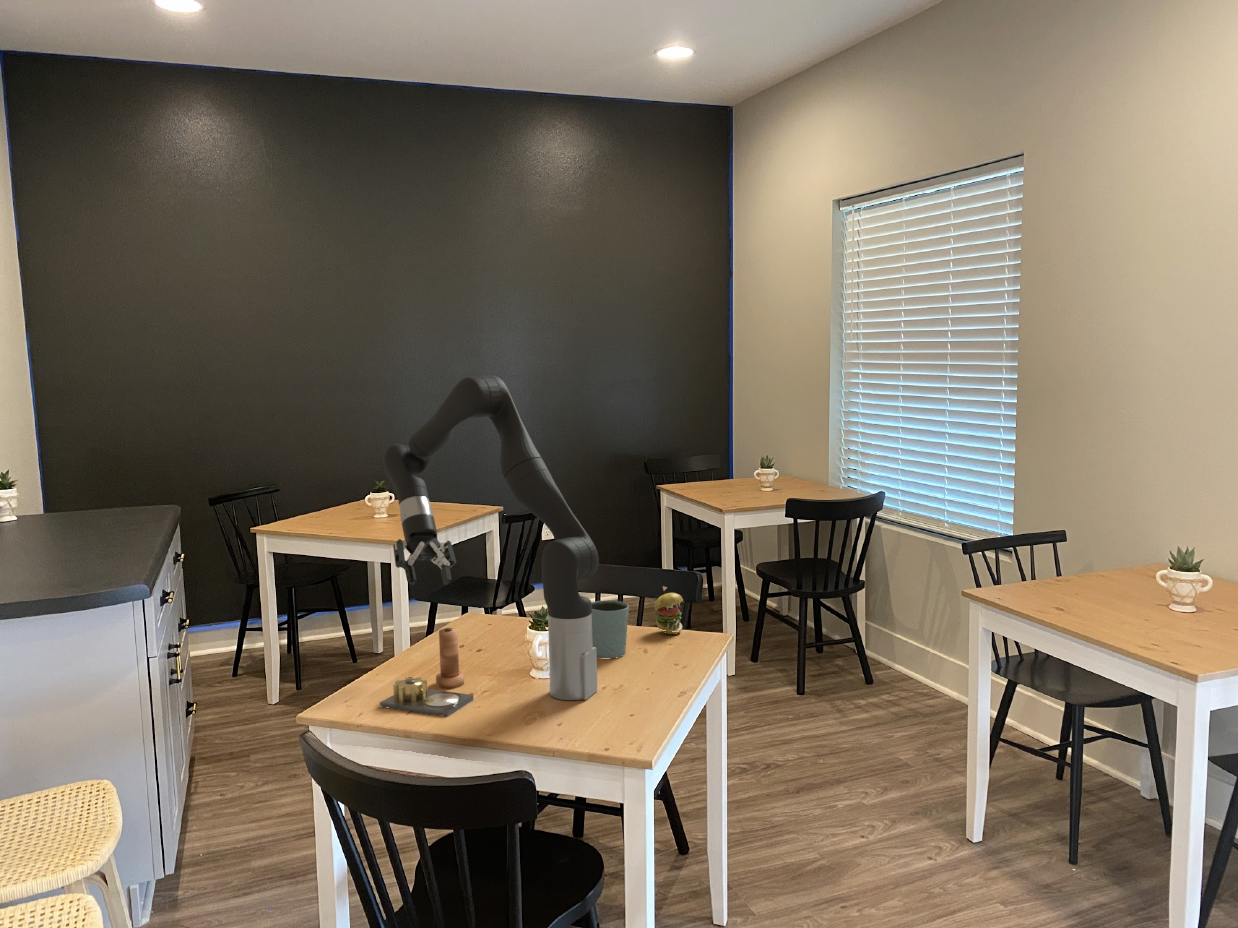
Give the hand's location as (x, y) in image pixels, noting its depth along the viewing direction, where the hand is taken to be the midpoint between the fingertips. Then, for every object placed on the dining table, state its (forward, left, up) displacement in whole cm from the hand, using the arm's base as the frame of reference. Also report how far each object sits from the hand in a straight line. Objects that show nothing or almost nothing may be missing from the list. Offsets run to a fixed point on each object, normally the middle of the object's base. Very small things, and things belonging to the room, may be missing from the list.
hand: (430, 583), depth 207 cm
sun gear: (-6, +18, -21) cm, 28 cm away
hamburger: (-41, -47, -21) cm, 66 cm away
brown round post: (-8, +6, -21) cm, 23 cm away
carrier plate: (-10, +18, -21) cm, 29 cm away
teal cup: (-33, -25, -21) cm, 46 cm away
